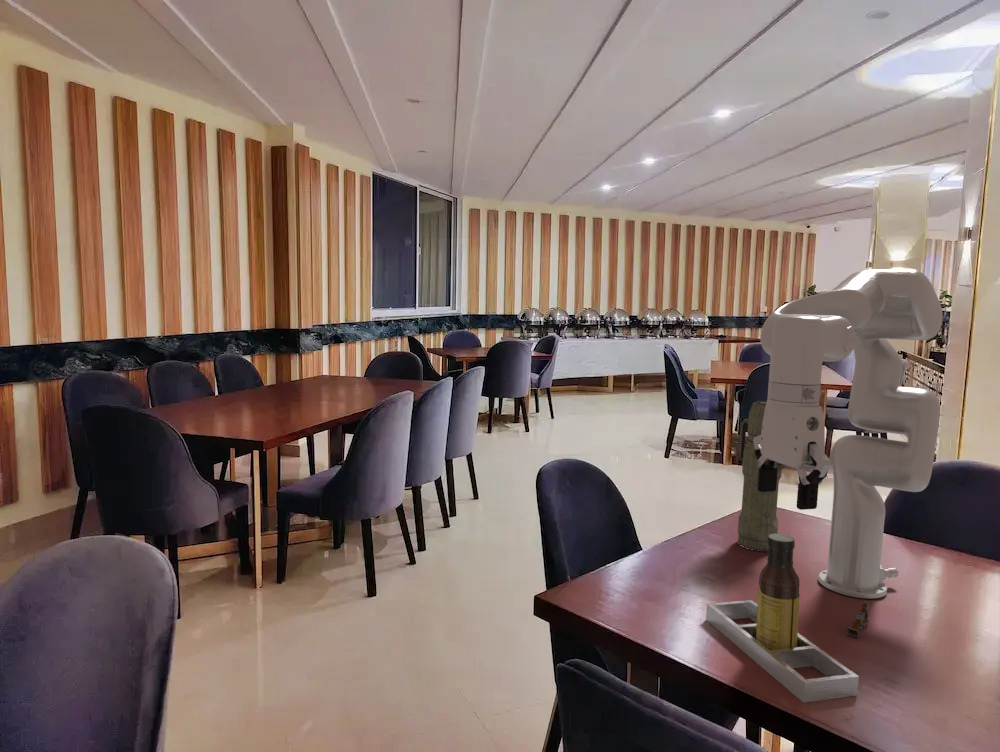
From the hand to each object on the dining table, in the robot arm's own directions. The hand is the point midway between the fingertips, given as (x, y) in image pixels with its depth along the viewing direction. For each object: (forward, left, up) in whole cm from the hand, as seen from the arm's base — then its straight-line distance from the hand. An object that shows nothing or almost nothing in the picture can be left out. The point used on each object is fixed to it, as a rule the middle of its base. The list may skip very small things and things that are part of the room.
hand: (785, 499), depth 106 cm
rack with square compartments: (0, 0, -26) cm, 26 cm away
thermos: (-29, -46, -26) cm, 60 cm away
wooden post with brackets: (-20, -4, -26) cm, 34 cm away
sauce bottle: (0, 0, -26) cm, 26 cm away
